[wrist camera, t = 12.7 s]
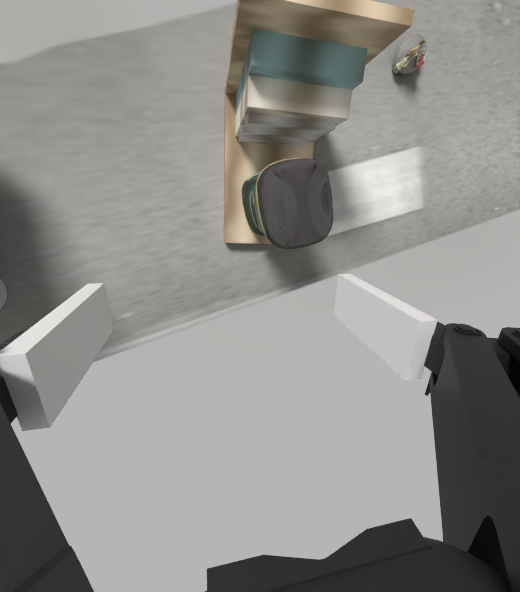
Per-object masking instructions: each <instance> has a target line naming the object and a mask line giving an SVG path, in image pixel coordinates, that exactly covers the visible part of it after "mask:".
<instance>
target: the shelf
mask: <svg viewBox="0 0 520 592" xmlns="http://www.w3.org/2000/svg"><path fill="white" fill-rule="evenodd" d="M413 14H414V10H412V9H407V8H402V7H398V6H393V5H388V4H384V3H379V2H374V1H370V0H237V7H236V14H235V21H234V28H233V35H232V43H231V50H230V57H229V64H228V71H227V78H226V85H225V134H224V243H257V244H272V243H271V242H270V241H269V240H268V239H267V237H266V236H261V235H258V234H256V233H254V232H253V231H252V230H251V229H250V227H249V225H248V222H247V219H246V216H245V212H244V207H243V202H242V186H243V184H244V182H245V181H246V180H247V179H248V178H249V177H251V176H253V175H255V174H257V173H261V172H262V170H263V169H264V168H265V167H267V166H268V165H270V164H272V163H274V162H277V161H280V160H284V159H292V158H300V159H303V158H309V159H313V151H314V141H315V140H316V139H318V138H320V137H322V136H323V135H325V134H327V133H329V132H331V131H332V130H334V129H335V126H336V125H338V124H340V123H342V122H343V121H345V120H347V119H348V117H349V110H350V103H351V96H352V90H353V89H354V88H355V87H357V86H358V85H359V84H361V83H362V82H363V76H364V69H365V65H366V64H367V63H369V62H370V61H371V60H372V59H373V58H374V57H376V56H377V55H378V54H379V53H380V52H381V51H383V50H384V49H385V48H386V47H387V46H388V45H390V44H391V43H392V42H393V41H394V40H395V39H397V38H398V37H399V36H400V35H401V34H403V33H404V32H405V31H406V30H407V29H408V28H410V27H411V25H412V20H413Z"/></svg>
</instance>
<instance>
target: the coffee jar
mask: <svg viewBox="0 0 520 592" xmlns="http://www.w3.org/2000/svg"><path fill="white" fill-rule="evenodd" d="M242 202H243V207H244V212H245V216H246V219H247V222H248V225H249V227H250V229H251V230H252V231H253V232H254V233H256V234H258V235H261V236H266V237H267V239H268V240H269V241H270V242H271V243H272V244H273V245H274V246H276V247H279V248H284V249H293V248H300V247H305V246H309V245H312V244H315V243H318V242H320V241H322V240H323V239H324V238H326V237H327V235H328V234H329V232H330V230H331V227H332V223H333V209H332V196H331V189H330V183H329V177H328V174H327V171H326V169H325V168H324V166H323V165H322V164H321V163H320V162H318V161H317V160H314V159H309V158H303V159H300V158H292V159H284V160H280V161H277V162H274V163H272V164H270V165H268V166H267V167H265V168H264V169H263V170H262V172H261V173H257V174H255V175H253V176H251V177H249V178H248V179H247V180H246V181H245V182H244V184H243V186H242Z"/></svg>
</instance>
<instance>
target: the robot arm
mask: <svg viewBox="0 0 520 592" xmlns="http://www.w3.org/2000/svg"><path fill="white" fill-rule="evenodd" d="M333 315H334V316H335V317H336V318H337V319H338V320H339V321H340V322H341V323H342V324H343V325H344V326H346V327H347V328H348V329H349V330H350V331H351V332H352V333H353V334H354V335H355V336H356V337H358V338H359V339H360V340H361V341H362V342H363V343H364V344H365V345H366V346H367V347H369V348H370V349H371V350H372V351H373V352H374V353H375V354H376V355H377V356H378V357H380V358H381V359H382V360H383V361H384V362H385V363H386V364H387V365H388V366H389V367H391V368H392V369H393V370H394V371H395V372H396V373H397V374H398V375H399V376H400V377H402V378H403V379H404V380H405V381H408V380H415V379H421V376H422V373H423V369H424V366H425V367H427V368H428V369H429V370H431V371H432V373H431V376H430V379H429V383H428V386H427V389H426V393H425V395H427V396H428V394H429V393H431V404H432V416H433V427H434V439H435V450H436V461H437V473H438V484H439V495H440V507H441V516H442V517H441V518H442V529H443V542H442V541H439V540H434V539H430V538H425V537H423V536H422V535H421V533H420V531H419V530H418V529H417V527H416V525H415V524H414V522H413V521H412V519H411V518H410V519H406V520H402V521H398V522H394V523H390V524H385V525H382V526H377V527H373V528H369V529H366V530H365V531H364V532H362V533H361V534H359V535H358V536H356V537H355V538H354V539H352V540H351V541H349V542H348V543H347V544H346V545H344V546H342V547H341V548H340V549H338V550H337V551H336V552H334V553H333V554H331V555H330V556H329V557H327V558H325V559H321V560H315V559H304V558H293V557H281V556H270V555H261V556H257V557H253V558H249V559H245V560H241V561H237V562H233V563H229V564H225V565H221V566H217V567H213V568H208V569H207V591H205V592H520V328H510V327H506V328H502V330H501V332H500V335H499V337H498V339H497V338H487V337H486V335H485V334H484V333H483V332H482V331H480V330H478V329H475V328H473V327H471V326H469V325H465V324H455V323H454V324H447V325H446V326H445V325H443V324H441V323H439V322H438V321H437V320H436V319H434V318H432V317H430V316H429V315H427V314H425V313H423V312H421V311H419V310H417V309H415V308H414V307H412V306H410V305H408V304H406V303H404V302H402V301H400V300H398V299H397V298H395V297H392V296H391V295H389V294H387V293H385V292H383V291H381V290H379V289H377V288H376V287H374V286H372V285H370V284H368V283H366V282H364V281H362V280H361V279H359V278H357V277H355V276H353V275H351V274H339V275H338V283H337V290H336V298H335V305H334V313H333ZM112 332H113V326H112V321H111V316H110V311H109V306H108V301H107V295H106V290H105V285H104V283H95V284H87V285H85V286H84V287H83V288H82V289H80V290H79V291H78V292H76V293H75V294H74V295H72V296H71V297H70V298H69V299H67V300H66V301H65V302H63V303H62V304H61V305H59V306H58V307H57V308H56V309H54V310H53V311H52V312H50V313H49V314H48V315H46V316H45V317H44V318H43V319H41V320H40V321H39V322H37V323H36V324H35V325H33V326H32V327H31V328H28V329H26V330H24V331H22V332H20V333H17V334H15V335H14V336H12V337H11V338H10V339H8V340H7V341H6V342H4V344H1V345H0V592H94V591H93V589H92V587H91V585H90V583H89V581H88V578H87V576H86V574H85V573H84V570H83V568H82V566H81V564H80V562H79V560H78V558H77V556H76V554H75V552H74V551H73V549H72V547H71V546H69V544H68V543H67V540H66V538H65V536H64V534H63V532H62V530H61V528H60V526H59V524H58V522H57V520H56V518H55V516H54V514H53V511H52V509H51V507H50V505H49V503H48V501H47V499H46V497H45V495H44V493H43V491H42V489H41V487H40V485H39V482H38V481H37V478H36V476H35V474H34V472H33V470H32V468H31V466H30V464H29V462H28V460H27V457H26V456H25V453H24V451H23V449H22V447H21V445H20V443H19V441H18V439H17V437H16V435H15V432H14V431H13V428H12V426H11V422H12V421H13V420H14V419H15V418H16V417H17V418H18V421H19V423H20V426H21V428H22V431H25V430H33V429H41V428H48V427H50V426H51V425H52V423H53V422H54V420H55V419H56V417H57V416H58V414H59V413H60V411H61V410H62V408H63V407H64V405H65V404H66V402H67V401H68V399H69V397H70V396H71V394H72V393H73V391H74V390H75V388H76V387H77V385H78V384H79V382H80V381H81V379H82V378H83V376H84V375H85V373H86V372H87V370H88V369H89V367H90V365H91V364H92V363H93V361H94V359H95V358H96V356H97V355H98V353H99V352H100V350H101V349H102V347H103V346H104V344H105V343H106V341H107V340H108V338H109V337H110V335H111V334H112Z"/></svg>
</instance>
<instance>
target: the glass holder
mask: <svg viewBox="0 0 520 592" xmlns="http://www.w3.org/2000/svg"><path fill="white" fill-rule="evenodd" d="M6 300H7V289H6V286H5V284H4V282H3V281H2V279H1V278H0V309H1V308H2V307H3V306H4V304H5V302H6Z"/></svg>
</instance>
